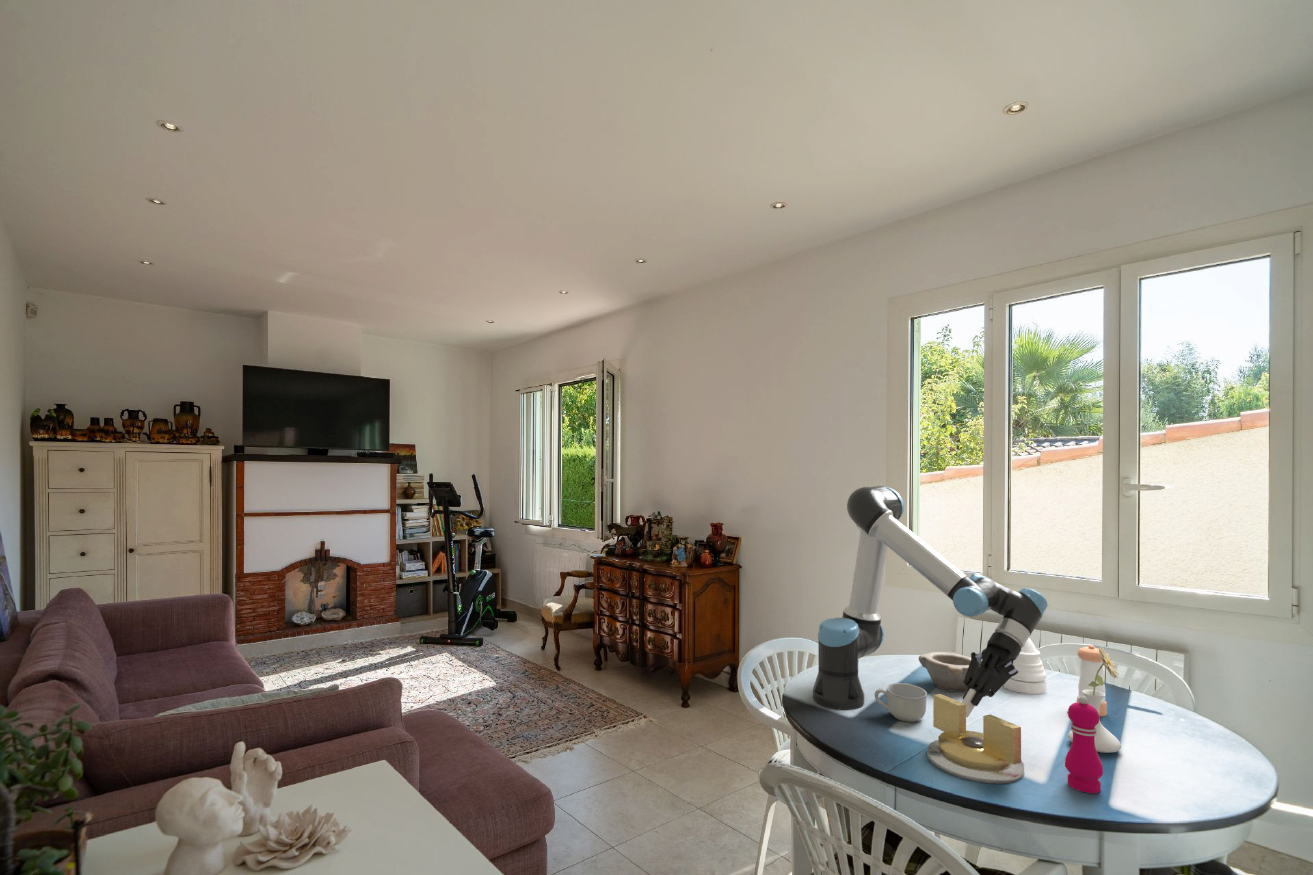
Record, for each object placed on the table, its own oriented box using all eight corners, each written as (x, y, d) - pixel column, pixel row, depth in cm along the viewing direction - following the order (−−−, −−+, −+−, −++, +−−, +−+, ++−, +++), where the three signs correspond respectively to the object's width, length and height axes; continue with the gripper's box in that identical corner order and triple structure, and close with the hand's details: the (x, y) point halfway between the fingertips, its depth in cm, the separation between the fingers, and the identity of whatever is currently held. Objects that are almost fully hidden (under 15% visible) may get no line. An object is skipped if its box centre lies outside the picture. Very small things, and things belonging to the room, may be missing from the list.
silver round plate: (926, 772, 156) (926, 765, 156) (928, 738, 175) (928, 731, 175) (1029, 791, 148) (1029, 783, 148) (1019, 753, 167) (1019, 746, 167)
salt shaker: (1106, 718, 190) (1105, 650, 191) (1075, 712, 195) (1075, 645, 195) (1107, 711, 196) (1107, 644, 197) (1078, 705, 201) (1078, 640, 201)
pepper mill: (1057, 779, 153) (1057, 690, 154) (1087, 778, 154) (1086, 690, 155) (1080, 795, 146) (1079, 702, 147) (1111, 794, 147) (1110, 701, 148)
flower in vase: (1104, 760, 163) (1104, 657, 164) (1058, 743, 173) (1057, 645, 174) (1134, 750, 169) (1133, 650, 170) (1088, 734, 179) (1087, 639, 180)
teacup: (925, 713, 193) (926, 685, 193) (928, 727, 182) (928, 697, 183) (874, 707, 197) (874, 679, 197) (874, 720, 187) (874, 691, 187)
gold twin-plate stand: (932, 761, 157) (932, 716, 158) (933, 733, 173) (933, 692, 174) (1022, 777, 150) (1021, 729, 150) (1014, 746, 166) (1014, 703, 166)
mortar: (993, 692, 211) (993, 662, 211) (953, 699, 205) (953, 668, 205) (950, 676, 227) (951, 648, 227) (912, 681, 220) (912, 653, 220)
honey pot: (995, 679, 224) (995, 624, 224) (1036, 681, 222) (1036, 626, 223) (1009, 692, 211) (1009, 634, 212) (1053, 695, 209) (1053, 636, 210)
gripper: (1037, 655, 173) (992, 731, 166) (993, 642, 185) (949, 713, 178) (1023, 637, 171) (976, 713, 164) (979, 625, 183) (934, 695, 176)
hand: (962, 713), depth 171 cm, fingers closed
